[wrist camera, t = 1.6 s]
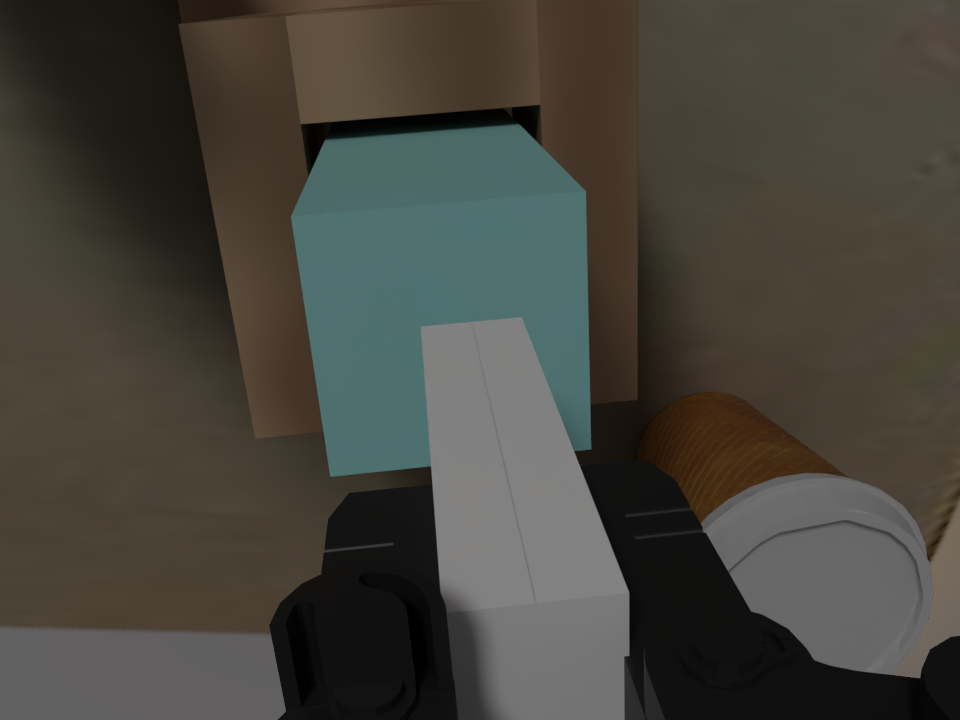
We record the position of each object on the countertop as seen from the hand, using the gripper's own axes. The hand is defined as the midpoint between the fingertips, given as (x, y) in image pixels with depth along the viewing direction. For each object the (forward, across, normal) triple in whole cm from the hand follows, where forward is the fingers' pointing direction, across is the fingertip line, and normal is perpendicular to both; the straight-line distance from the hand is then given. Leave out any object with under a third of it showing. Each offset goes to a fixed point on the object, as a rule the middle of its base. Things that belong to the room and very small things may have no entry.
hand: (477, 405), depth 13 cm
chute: (+24, 0, 0) cm, 24 cm away
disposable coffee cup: (+24, +12, -15) cm, 31 cm away
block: (+15, 0, 0) cm, 15 cm away
